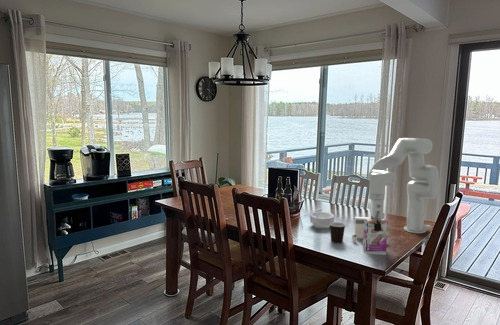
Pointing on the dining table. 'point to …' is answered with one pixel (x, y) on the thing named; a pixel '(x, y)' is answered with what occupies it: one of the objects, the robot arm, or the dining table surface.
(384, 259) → the dining table surface
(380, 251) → the pad
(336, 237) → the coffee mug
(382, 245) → the candy bar box
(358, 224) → the dispenser
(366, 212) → the dining table surface
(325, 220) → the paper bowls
